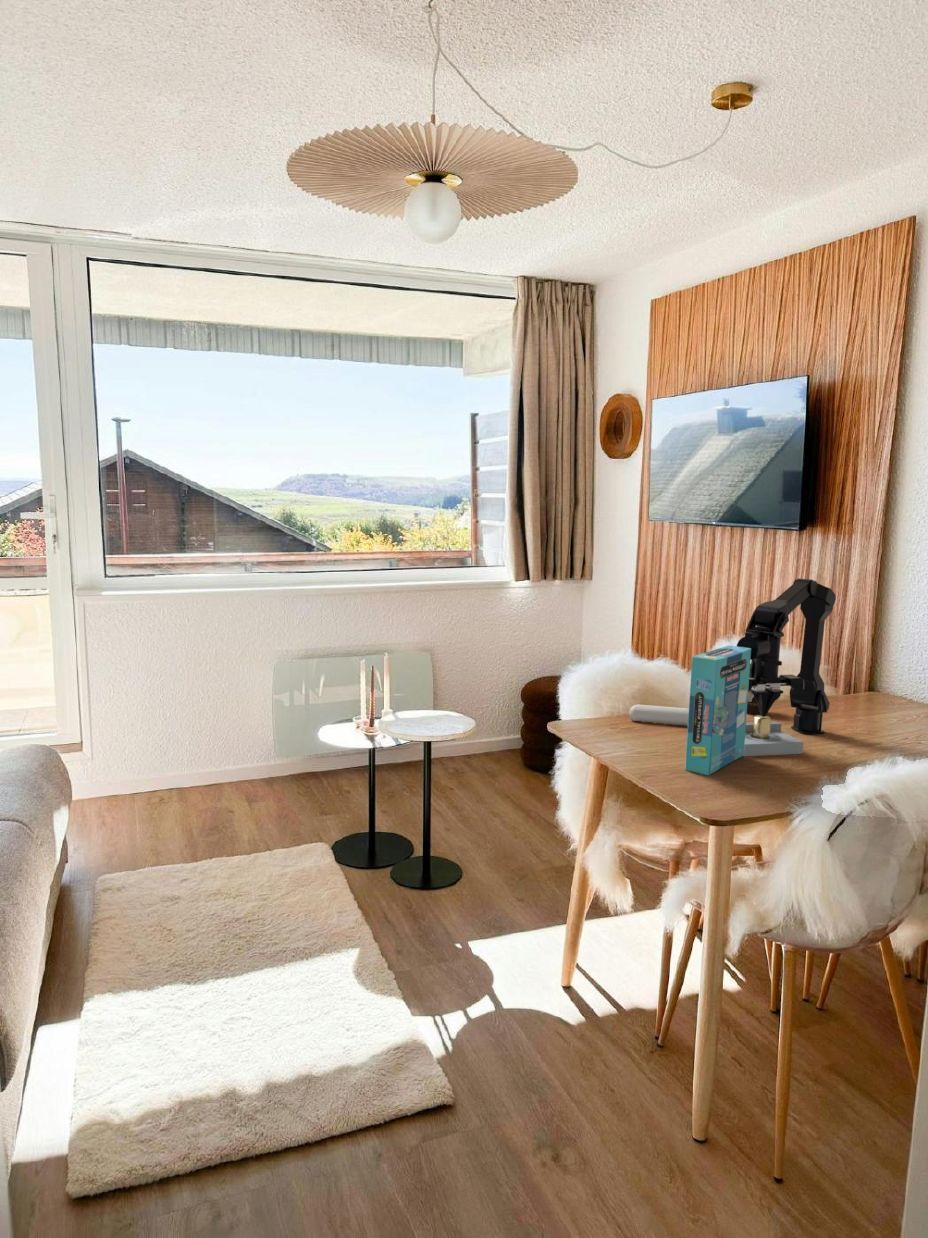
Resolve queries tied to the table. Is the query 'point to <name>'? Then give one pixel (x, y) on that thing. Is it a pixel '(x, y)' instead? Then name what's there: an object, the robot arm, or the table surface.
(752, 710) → the coffee mug
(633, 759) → the table surface
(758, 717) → the brass cylinder
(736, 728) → the game box
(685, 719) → the tube
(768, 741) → the jig
